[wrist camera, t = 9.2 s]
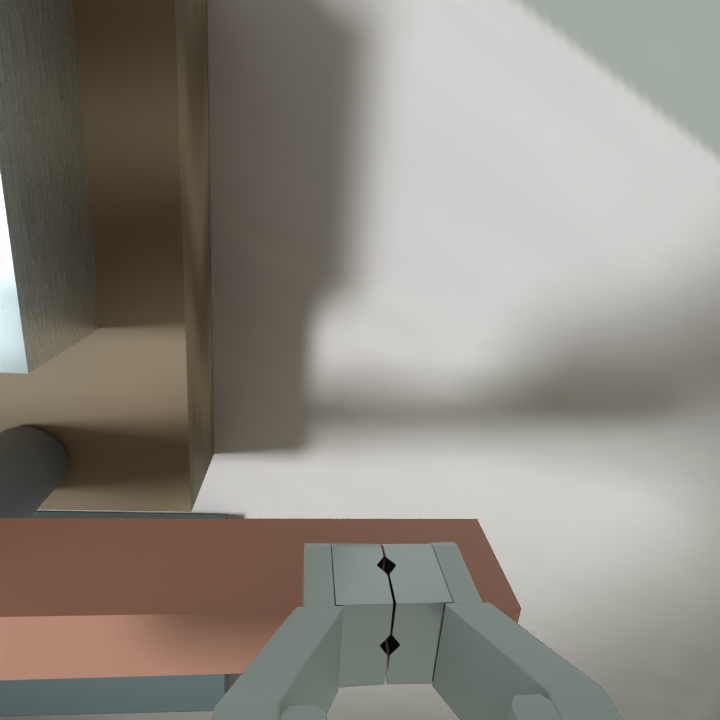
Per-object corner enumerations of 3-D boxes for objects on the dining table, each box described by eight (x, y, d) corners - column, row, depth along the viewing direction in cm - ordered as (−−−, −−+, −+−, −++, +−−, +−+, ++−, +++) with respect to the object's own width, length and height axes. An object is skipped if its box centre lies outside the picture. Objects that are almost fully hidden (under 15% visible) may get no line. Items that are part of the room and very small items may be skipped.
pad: (227, 695, 26) (224, 710, 25) (-2, 700, 24) (-12, 716, 24) (225, 514, 22) (222, 525, 21) (-40, 510, 21) (-54, 522, 20)
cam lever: (-5, 492, 16) (-236, 707, 9) (-19, 425, 15) (-279, 608, 9) (434, 494, 18) (507, 683, 11) (441, 434, 17) (526, 596, 10)
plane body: (213, 454, 21) (191, 511, 17) (-40, 447, 20) (-122, 506, 16) (206, -19, 16) (171, -86, 12) (-139, -63, 15) (-296, -150, 11)
